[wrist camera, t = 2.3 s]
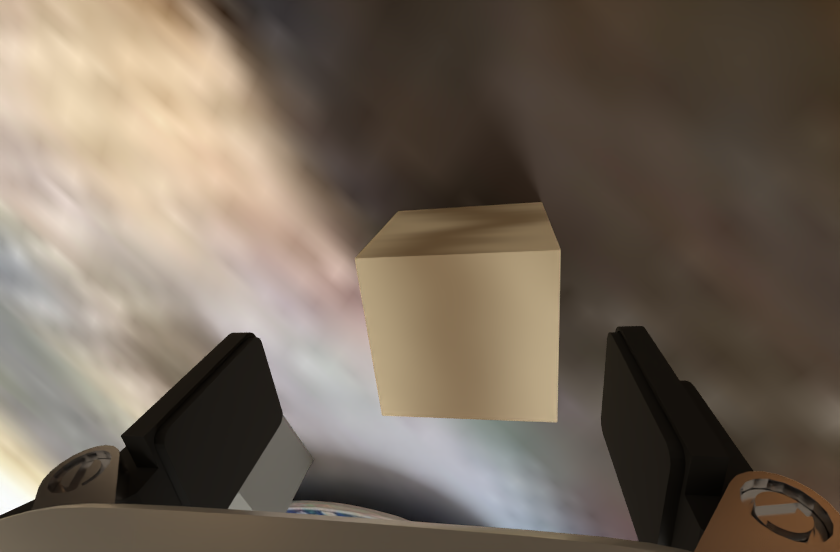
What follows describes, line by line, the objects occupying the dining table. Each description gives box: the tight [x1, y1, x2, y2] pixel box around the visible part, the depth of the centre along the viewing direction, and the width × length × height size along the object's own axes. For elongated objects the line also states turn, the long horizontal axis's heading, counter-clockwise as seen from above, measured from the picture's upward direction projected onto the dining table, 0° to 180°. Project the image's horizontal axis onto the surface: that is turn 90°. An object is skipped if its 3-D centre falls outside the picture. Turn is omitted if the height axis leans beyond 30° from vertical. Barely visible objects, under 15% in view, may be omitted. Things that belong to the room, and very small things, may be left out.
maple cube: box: [355, 202, 561, 422], centre depth 16 cm, size 6×6×6 cm
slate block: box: [228, 416, 313, 513], centre depth 23 cm, size 6×6×5 cm
